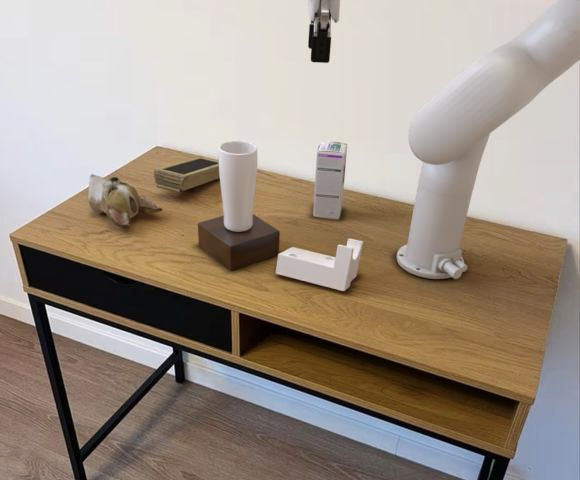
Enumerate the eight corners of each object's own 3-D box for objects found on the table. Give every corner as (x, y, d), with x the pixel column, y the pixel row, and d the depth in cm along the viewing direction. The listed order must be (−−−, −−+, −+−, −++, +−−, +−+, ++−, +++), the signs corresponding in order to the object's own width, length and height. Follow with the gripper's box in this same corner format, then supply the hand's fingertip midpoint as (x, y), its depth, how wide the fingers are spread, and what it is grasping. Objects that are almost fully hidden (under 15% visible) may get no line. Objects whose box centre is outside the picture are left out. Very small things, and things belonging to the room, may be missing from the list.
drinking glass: (255, 236, 116) (256, 155, 106) (218, 234, 115) (216, 153, 106) (257, 219, 121) (258, 141, 112) (221, 217, 121) (220, 139, 112)
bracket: (355, 281, 116) (363, 241, 113) (344, 291, 110) (352, 248, 107) (289, 265, 120) (295, 225, 117) (275, 273, 113) (281, 232, 110)
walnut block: (278, 254, 121) (279, 230, 118) (230, 271, 115) (230, 246, 112) (245, 232, 127) (245, 209, 124) (198, 246, 122) (197, 222, 119)
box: (151, 191, 137) (152, 168, 134) (203, 173, 156) (204, 153, 153) (185, 200, 135) (186, 177, 132) (233, 181, 153) (235, 160, 151)
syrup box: (339, 220, 134) (346, 152, 125) (311, 217, 134) (316, 149, 125) (341, 208, 138) (348, 142, 129) (315, 205, 139) (320, 139, 130)
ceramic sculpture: (110, 158, 131) (164, 182, 125) (113, 197, 136) (165, 221, 131) (69, 174, 124) (124, 200, 118) (74, 214, 129) (127, 240, 124)
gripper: (354, -52, 96) (343, 68, 106) (344, -63, 109) (335, 45, 120) (305, -55, 95) (298, 66, 106) (301, -66, 109) (295, 43, 119)
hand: (318, 55), depth 113 cm, fingers open, 9 cm apart
